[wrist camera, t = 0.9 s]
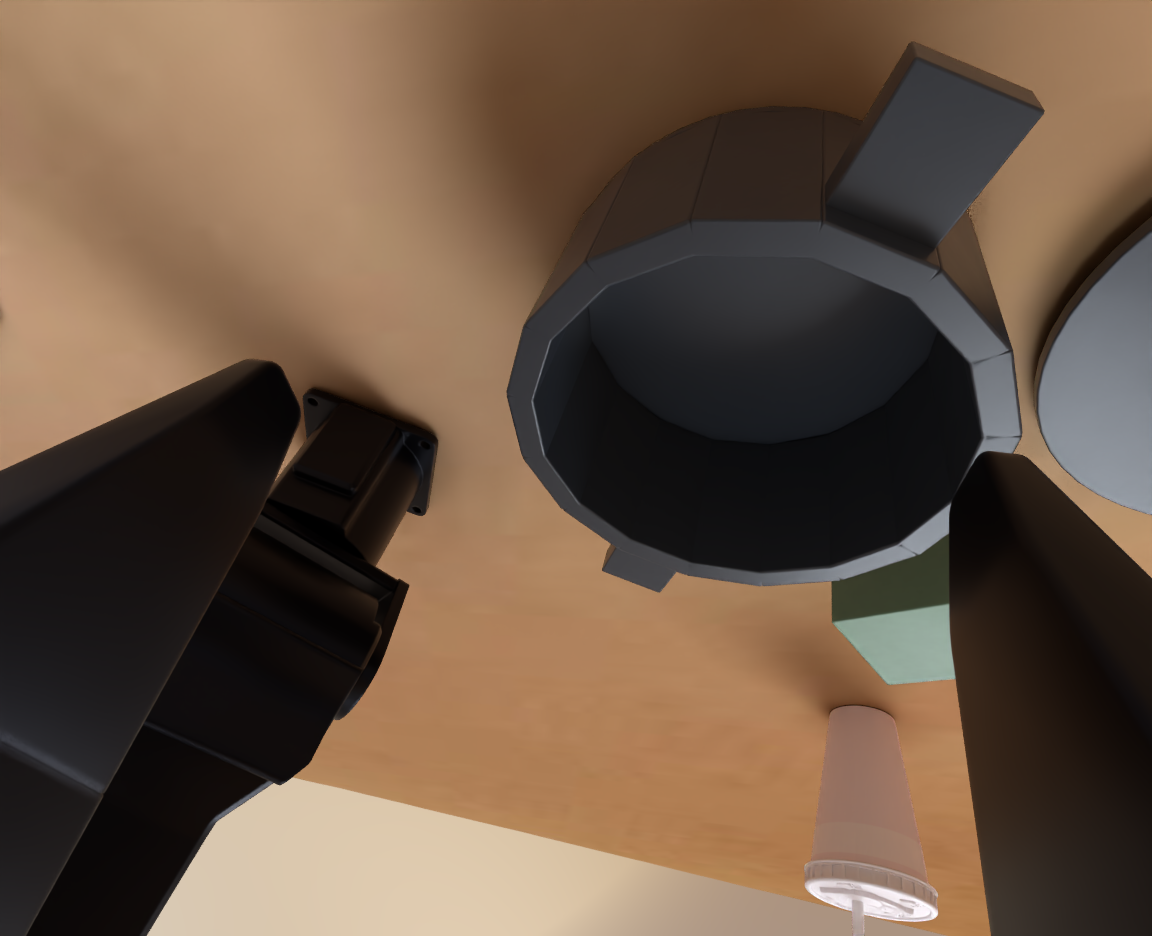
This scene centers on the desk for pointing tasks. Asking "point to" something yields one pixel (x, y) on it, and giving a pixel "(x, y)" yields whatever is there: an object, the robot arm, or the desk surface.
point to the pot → (780, 337)
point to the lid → (1104, 378)
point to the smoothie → (867, 825)
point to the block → (900, 617)
